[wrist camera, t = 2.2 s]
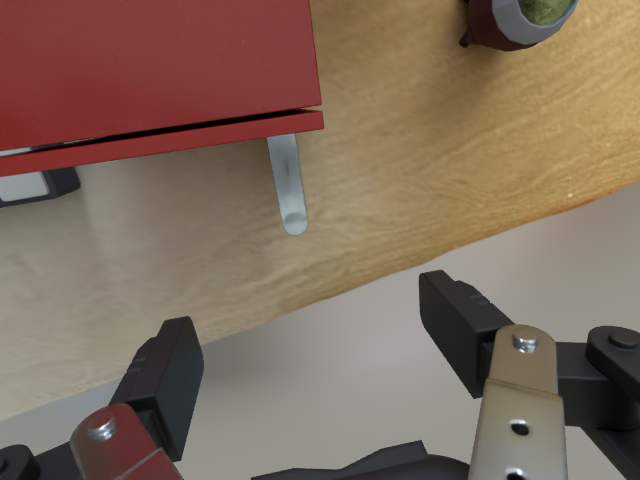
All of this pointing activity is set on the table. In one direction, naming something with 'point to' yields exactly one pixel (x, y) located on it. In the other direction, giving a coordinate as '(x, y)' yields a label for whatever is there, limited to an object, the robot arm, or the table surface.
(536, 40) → the mate gourd
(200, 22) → the cabinet
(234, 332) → the table surface
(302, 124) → the red cabinet door
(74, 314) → the table surface
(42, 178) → the calculator
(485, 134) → the table surface
